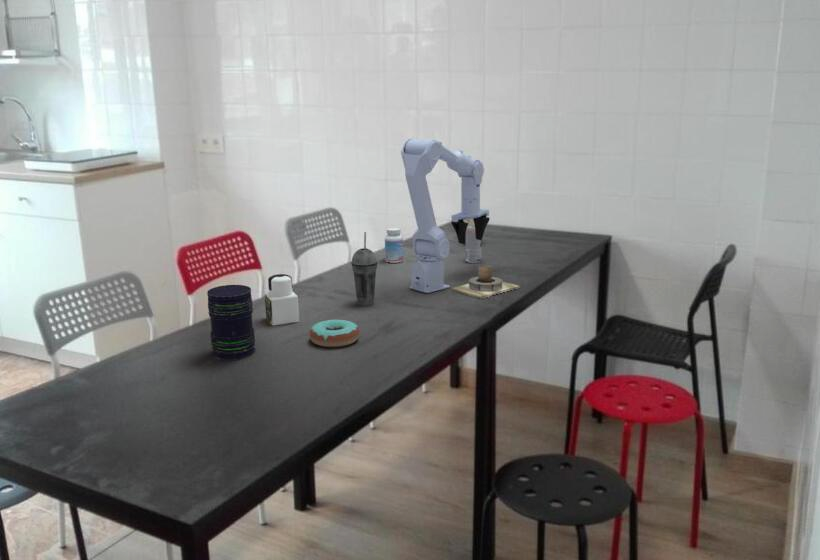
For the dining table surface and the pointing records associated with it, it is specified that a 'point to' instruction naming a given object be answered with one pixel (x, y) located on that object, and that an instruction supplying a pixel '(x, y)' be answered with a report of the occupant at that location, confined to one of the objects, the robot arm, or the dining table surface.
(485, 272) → the walnut peg
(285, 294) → the white handled container
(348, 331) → the donut
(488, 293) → the socket board
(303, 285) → the dining table surface
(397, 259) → the pill bottle
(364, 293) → the beverage cup
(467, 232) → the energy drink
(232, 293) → the storage jar
